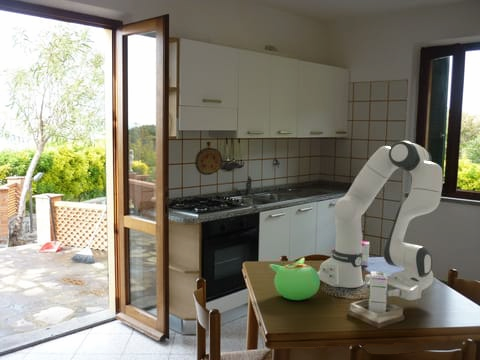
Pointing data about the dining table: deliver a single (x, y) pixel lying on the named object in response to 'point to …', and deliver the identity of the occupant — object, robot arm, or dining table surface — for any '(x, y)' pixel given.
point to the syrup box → (377, 292)
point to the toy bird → (296, 280)
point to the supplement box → (365, 253)
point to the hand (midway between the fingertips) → (377, 289)
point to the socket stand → (377, 320)
